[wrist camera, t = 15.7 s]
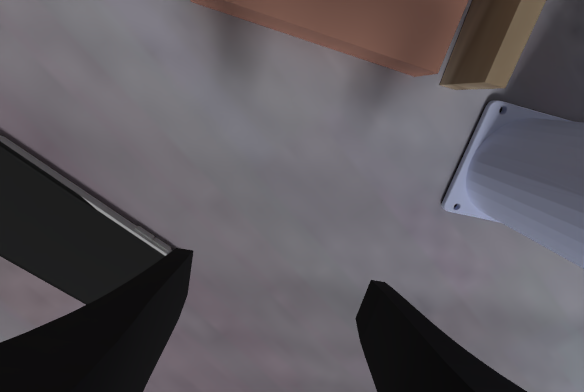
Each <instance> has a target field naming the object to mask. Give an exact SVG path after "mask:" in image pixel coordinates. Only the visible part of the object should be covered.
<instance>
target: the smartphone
mask: <svg viewBox="0 0 584 392" xmlns="http://www.w3.org/2000/svg"><path fill="white" fill-rule="evenodd" d="M154 237H155V236H154V235H152V234H151V233H149V232H148V231H146V230H145V229H143V228H142V227H140V226H139V225H138V226H136V225H134V224H133V223H131V222H130V221H128V220H127V219H125V218H124V217H123V216H121V215H120V214H118V213H117V212H115V211H114V210H112V209H111V208H109V207H108V206H106V205H105V204H103V203H102V202H100V201H99V200H97V199H96V198H94V197H93V196H91V195H90V194H88V193H87V192H86V191H84V190H83V189H81V188H80V187H78V186H77V185H75V184H74V183H72V182H71V181H69V180H68V179H66V178H65V177H63V176H62V175H60V174H59V173H57V172H56V171H54V170H53V169H52V168H50V167H49V166H47V165H46V164H44V163H43V162H41V161H40V160H38V159H37V158H35V157H34V156H32V155H31V154H29V153H28V152H26V151H25V150H23V149H22V148H20V147H19V146H18V145H16V144H15V143H13V142H12V141H10V140H9V139H7V138H6V137H4V136H1V135H0V256H1V257H3V258H4V259H6V260H8V261H10V262H12V263H13V264H15V265H17V266H19V267H20V268H22V269H24V270H26V271H28V272H29V273H31V274H33V275H35V276H36V277H38V278H40V279H42V280H43V281H45V282H47V283H49V284H51V285H52V286H54V287H56V288H58V289H59V290H61V291H63V292H65V293H67V294H68V295H70V296H72V297H74V298H75V299H77V300H79V301H81V302H82V303H84V304H86V305H87V304H89V303H91V302H93V301H95V300H97V299H99V298H101V297H102V296H104V295H106V294H108V293H109V292H111V291H113V290H114V289H116V288H118V287H119V286H121V285H123V284H124V283H126V282H128V281H129V280H131V279H132V278H134V277H135V276H137V275H138V274H140V273H141V272H143V271H144V270H146V269H147V268H149V267H150V266H152V265H153V264H155V263H156V262H157V261H159V260H160V259H162V258H163V257H164V256H166V255H167V254H169V253H170V252H171V251H173V250H171V247H170V246H168V245H167V244H165V243H164V242H163V241H161V240H160V239H158V238H157V237H156V238H154Z"/></svg>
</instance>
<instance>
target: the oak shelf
mask: <svg viewBox="0 0 584 392" xmlns="http://www.w3.org/2000/svg"><path fill="white" fill-rule="evenodd" d="M545 2H546V0H473V1H472V3H471V6H470V8H469V11H468V13H467V16H466V18H465V21H464V24H463V26H462V29H461V31H460V34H459V36H458V39H457V42H456V44H455V47H454V49H453V52H452V54H451V57H450V59H449V62H448V65H447V67H446V70H445V72H444V75H443V77H442V80H441V83H440V85H441V86H444V87H448V88H451V89H455V90H465V89H495V88H505V87H506V85H507V83H508V81H509V79H510V77H511V75H512V73H513V70H514V68H515V66H516V64H517V62H518V60H519V58H520V55H521V53H522V51H523V49H524V47H525V45H526V43H527V40H528V38H529V36H530V34H531V32H532V30H533V28H534V25H535V23H536V21H537V19H538V17H539V15H540V13H541V11H542V8H543V6H544V4H545Z"/></svg>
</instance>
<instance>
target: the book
mask: <svg viewBox="0 0 584 392" xmlns="http://www.w3.org/2000/svg"><path fill="white" fill-rule="evenodd" d="M190 1H191V2H193V3H196V4H199V5H202V6H205V7H208V8H211V9H214V10H217V11H220V12H223V13H226V14H229V15H232V16H235V17H238V18H241V19H244V20H247V21H250V22H253V23H256V24H259V25H262V26H265V27H268V28H271V29H274V30H277V31H280V32H283V33H286V34H289V35H292V36H295V37H298V38H301V39H304V40H307V41H310V42H313V43H316V44H319V45H322V46H325V47H328V48H331V49H334V50H337V51H340V52H343V53H346V54H349V55H352V56H355V57H358V58H360V59H363V60H366V61H369V62H372V63H375V64H378V65H381V66H384V67H387V68H390V69H393V70H396V71H399V72H402V73H405V74H408V75H411V76H414V77H416V76H424V75H431V74H438V72H439V69H440V67H441V65H442V62H443V60H444V58H445V55H446V53H447V50H448V48H449V46H450V43H451V41H452V39H453V36H454V34H455V31H456V29H457V27H458V24H459V22H460V19H461V17H462V15H463V12H464V10H465V8H466V5H467V3H468V0H190Z"/></svg>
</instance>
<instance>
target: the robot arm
mask: <svg viewBox="0 0 584 392" xmlns="http://www.w3.org/2000/svg"><path fill="white" fill-rule="evenodd" d="M501 107H502V111H501V113H499V110H500V108H501ZM455 204H457V206H456V207H455V208H454V205H455ZM442 208H443V209H444V210H446V211H448V212H453V213H458V214H463V215H467V216H472V217H477V218H481V219H486V220H491V221H496V222H500V223H503V224H504V225H506V226H508V227H510V228H511V229H513V230H515V231H517V232H519V233H520V234H522V235H524V236H526V237H528V238H529V239H531V240H533V241H535V242H537V243H538V244H540V245H542V246H544V247H545V248H547V249H549V250H551V251H553V252H554V253H556V254H558V255H560V256H562V257H563V258H565V259H567V260H569V261H571V262H572V263H574V264H576V265H578V266H579V267H581V268H583V269H584V122H574V121H570V120H567V119H563V118H560V117H556V116H553V115H549V114H546V113H542V112H539V111H535V110H532V109H528V108H525V107H521V106H517V105H514V104H510V103H507V102H503V101H500V100H493V101H490V102H489V103H488V104H487V105H486V107H485V109H484V112H483V114H482V116H481V118H480V120H479V123H478V125H477V127H476V129H475V131H474V134H473V136H472V138H471V140H470V142H469V145H468V147H467V149H466V151H465V153H464V156H463V158H462V160H461V162H460V164H459V167H458V169H457V171H456V173H455V175H454V178H453V180H452V182H451V184H450V186H449V189H448V191H447V193H446V195H445V197H444V200H443V202H442ZM192 257H193V251H192V250H186V249H180V248H176V249H174V250H173V251H171V252H170V253H169V254H167V255H166V256H164V257H163V258H162V259H160V260H159V261H157V262H156V263H155V264H153V265H152V266H150V267H149V268H147V269H146V270H144V271H143V272H141V273H140V274H138V275H137V276H135V277H134V278H132V279H131V280H129V281H128V282H126V283H124V284H123V285H121V286H119V287H118V288H116V289H114V290H113V291H111V292H109V293H108V294H106V295H104V296H102V297H101V298H99V299H97V300H95V301H93V302H91V303H89V304H87V305H85V306H83V307H81V308H79V309H77V310H76V311H73V312H71V313H69V314H67V315H65V316H63V317H60V318H58V319H56V320H54V321H51V322H49V323H47V324H44V325H42V326H40V327H38V328H35V329H33V330H31V331H29V332H26V333H24V334H21V335H19V336H16V337H14V338H11V339H9V340H6V341H3V342H1V343H0V392H143V391H144V388H145V386H146V384H147V382H148V380H149V378H150V376H151V374H152V372H153V370H154V368H155V366H156V364H157V362H158V360H159V358H160V356H161V354H162V352H163V350H164V348H165V346H166V344H167V342H168V340H169V338H170V336H171V334H172V332H173V330H174V328H175V325H176V323H177V321H178V319H179V317H180V314H181V311H182V308H183V306H184V303H185V300H186V297H187V294H188V287H189V280H190V272H191V264H192ZM356 323H357V328H358V333H359V338H360V342H361V345H362V349H363V352H364V355H365V358H366V361H367V363H368V366H369V369H370V372H371V375H372V378H373V381H374V384H375V387H376V389H377V392H527V391H525V390H524V389H522V388H521V387H519V386H517V385H516V384H514V383H513V382H511V381H510V380H508V379H507V378H505V377H503V376H502V375H500V374H499V373H497V372H496V371H494V370H493V369H492V368H490V367H489V366H487V365H486V364H484V363H483V362H482V361H480V360H479V359H478V358H476V357H475V356H473V355H472V354H471V353H469V352H468V351H467V350H465V349H464V348H463V347H461V346H460V345H459V344H457V343H456V342H455V341H454V340H452V339H451V338H450V337H449V336H447V335H446V334H445V333H444V332H443V331H441V330H440V329H439V328H438V327H437V326H435V325H434V324H433V323H432V322H431V321H429V320H428V319H427V318H426V317H425V316H424V315H423V314H421V313H420V312H419V311H418V310H417V309H416V308H415V307H413V306H412V305H411V304H410V303H409V302H408V301H407V300H406V299H404V298H403V297H402V296H401V295H400V294H399V293H398V292H396V291H395V290H394V289H393V288H392V287H390V286H389V285H388V284H386V283H385V282H380V281H374V280H371V281H370V284H369V286H368V289H367V291H366V294H365V296H364V299H363V301H362V304H361V306H360V309H359V311H358V314H357V316H356Z"/></svg>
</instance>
